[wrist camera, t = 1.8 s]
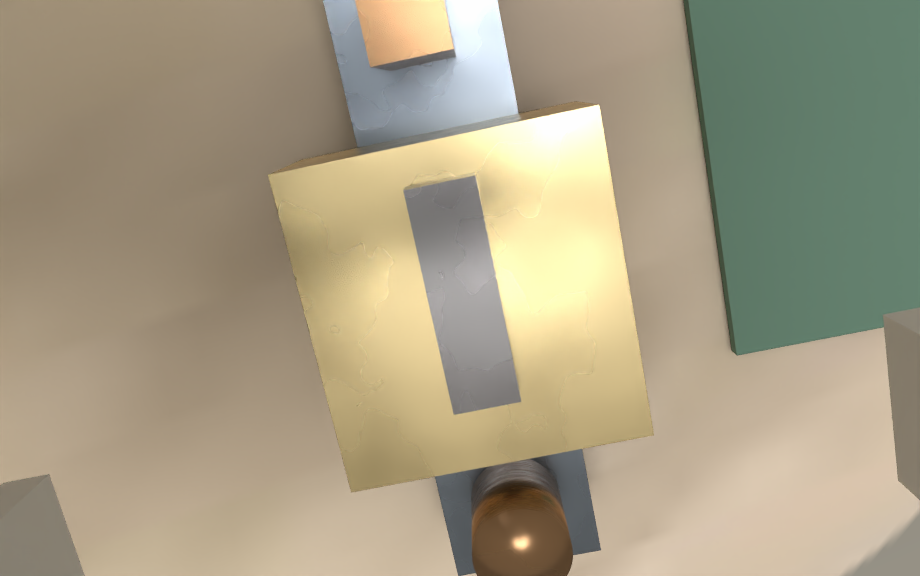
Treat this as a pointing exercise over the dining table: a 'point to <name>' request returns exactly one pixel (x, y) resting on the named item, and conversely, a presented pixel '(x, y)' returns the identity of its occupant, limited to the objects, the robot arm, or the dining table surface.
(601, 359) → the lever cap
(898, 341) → the robot arm
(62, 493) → the dining table surface
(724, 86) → the felt pad
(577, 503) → the knobbed metal bar
